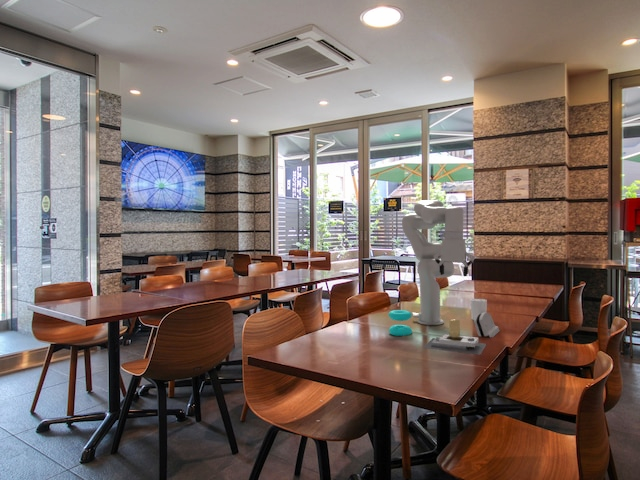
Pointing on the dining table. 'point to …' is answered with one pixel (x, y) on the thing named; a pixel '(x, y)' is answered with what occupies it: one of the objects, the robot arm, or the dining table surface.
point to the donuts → (400, 316)
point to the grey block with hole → (455, 342)
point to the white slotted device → (485, 325)
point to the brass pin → (454, 329)
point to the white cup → (478, 307)
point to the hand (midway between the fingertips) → (453, 275)
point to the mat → (475, 350)
